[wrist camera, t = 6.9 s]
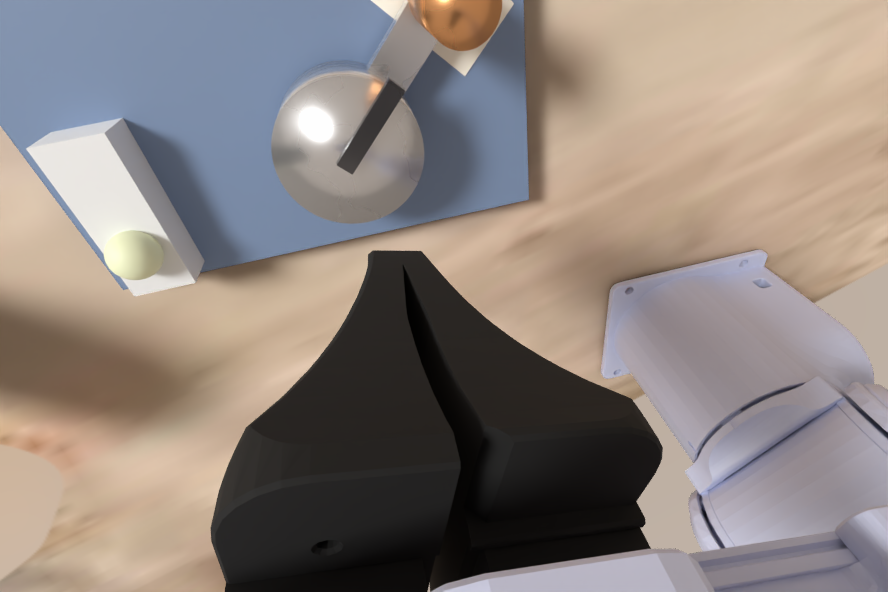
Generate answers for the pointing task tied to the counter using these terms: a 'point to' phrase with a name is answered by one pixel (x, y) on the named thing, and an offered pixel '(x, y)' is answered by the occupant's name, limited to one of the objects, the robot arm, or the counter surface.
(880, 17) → the counter surface
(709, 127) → the counter surface
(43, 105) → the plate
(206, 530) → the counter surface
